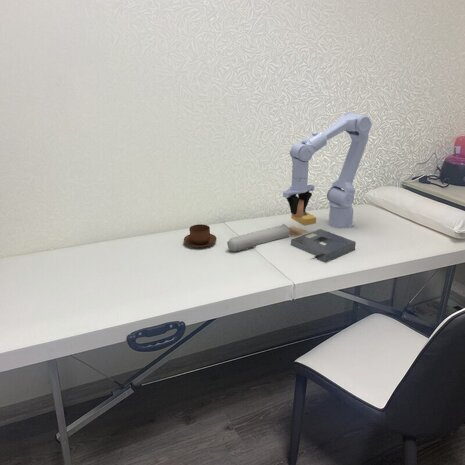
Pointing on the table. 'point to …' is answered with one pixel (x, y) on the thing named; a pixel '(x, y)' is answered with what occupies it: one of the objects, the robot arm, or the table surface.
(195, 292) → the table surface
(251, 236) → the tube
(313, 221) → the rubber stamp
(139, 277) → the table surface
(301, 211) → the peg
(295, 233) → the tan square tile
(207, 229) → the cup and saucer
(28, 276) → the table surface
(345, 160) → the robot arm
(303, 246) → the grey square slab
